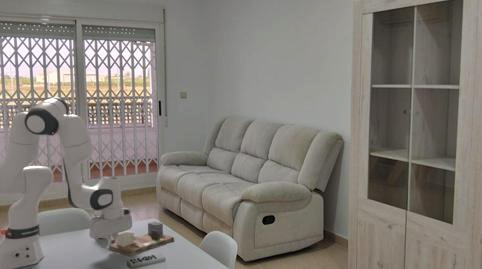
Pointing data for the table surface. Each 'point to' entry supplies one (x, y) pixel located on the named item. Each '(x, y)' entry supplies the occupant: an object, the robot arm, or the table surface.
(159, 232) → the dark grey cube
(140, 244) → the wooden tray
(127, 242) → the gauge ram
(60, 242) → the table surface
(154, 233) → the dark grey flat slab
